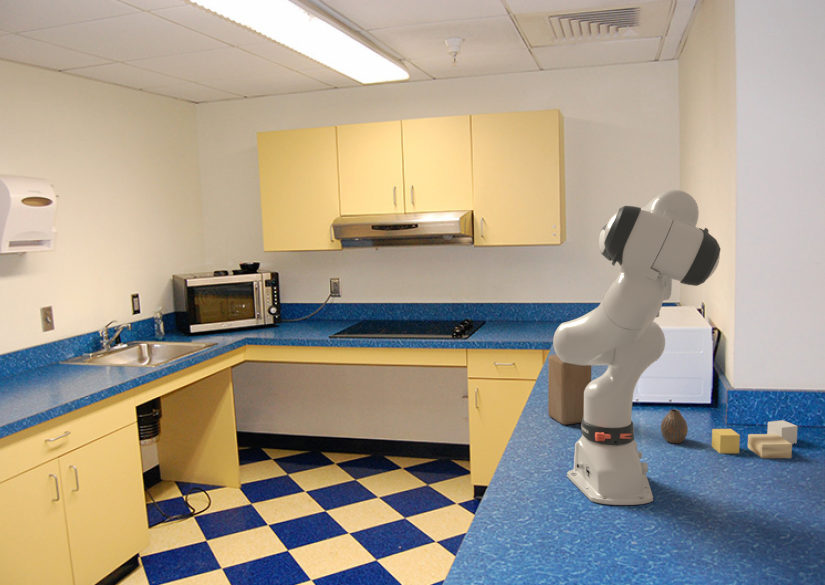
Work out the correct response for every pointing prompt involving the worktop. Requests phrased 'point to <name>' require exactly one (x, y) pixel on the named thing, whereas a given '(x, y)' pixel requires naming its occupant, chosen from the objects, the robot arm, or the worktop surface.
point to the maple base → (769, 446)
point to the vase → (674, 427)
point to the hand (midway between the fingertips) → (646, 319)
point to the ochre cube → (725, 440)
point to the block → (567, 390)
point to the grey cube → (783, 430)
